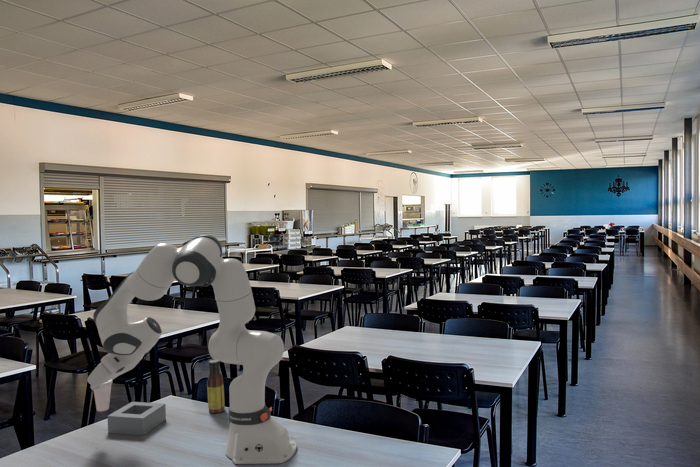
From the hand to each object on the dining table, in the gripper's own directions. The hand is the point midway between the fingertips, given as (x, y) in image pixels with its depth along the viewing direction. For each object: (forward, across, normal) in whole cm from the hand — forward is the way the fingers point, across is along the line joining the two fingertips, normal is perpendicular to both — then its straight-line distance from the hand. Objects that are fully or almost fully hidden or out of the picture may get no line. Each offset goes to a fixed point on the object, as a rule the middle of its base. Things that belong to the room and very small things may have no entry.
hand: (100, 384), depth 172 cm
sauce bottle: (-5, -31, +33) cm, 45 cm away
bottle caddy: (+10, -13, +17) cm, 24 cm away
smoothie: (+6, 0, +6) cm, 9 cm away
